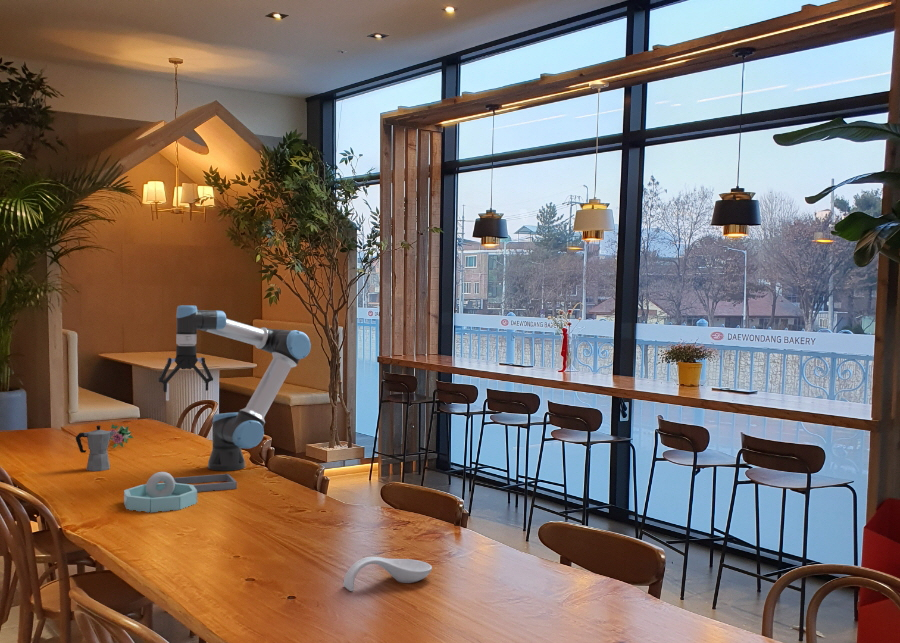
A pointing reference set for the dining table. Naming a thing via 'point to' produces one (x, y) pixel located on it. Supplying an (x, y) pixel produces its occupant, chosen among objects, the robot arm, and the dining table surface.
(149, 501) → the bowl
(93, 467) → the coffeepot
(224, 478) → the grey rectangular frame
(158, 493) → the donut
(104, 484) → the dining table surface
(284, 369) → the robot arm
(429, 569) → the spoon rest
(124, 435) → the flower vase
